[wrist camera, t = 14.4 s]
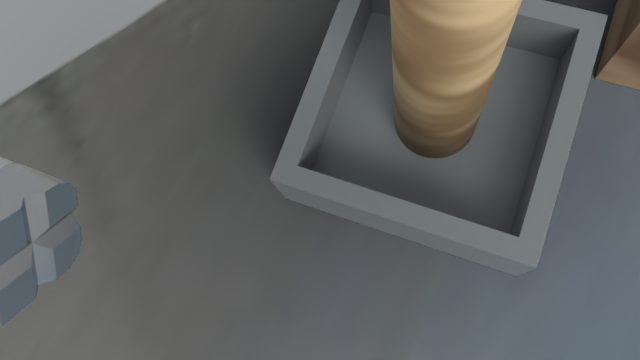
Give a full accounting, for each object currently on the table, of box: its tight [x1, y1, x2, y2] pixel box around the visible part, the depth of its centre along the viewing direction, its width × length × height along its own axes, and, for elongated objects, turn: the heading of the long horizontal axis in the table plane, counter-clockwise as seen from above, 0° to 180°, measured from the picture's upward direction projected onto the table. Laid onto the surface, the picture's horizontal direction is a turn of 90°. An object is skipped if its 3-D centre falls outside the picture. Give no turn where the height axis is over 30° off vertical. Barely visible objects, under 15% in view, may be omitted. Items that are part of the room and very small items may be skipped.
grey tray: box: [270, 0, 608, 277], centre depth 27 cm, size 12×12×4 cm
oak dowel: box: [390, 0, 522, 159], centre depth 20 cm, size 4×4×16 cm
